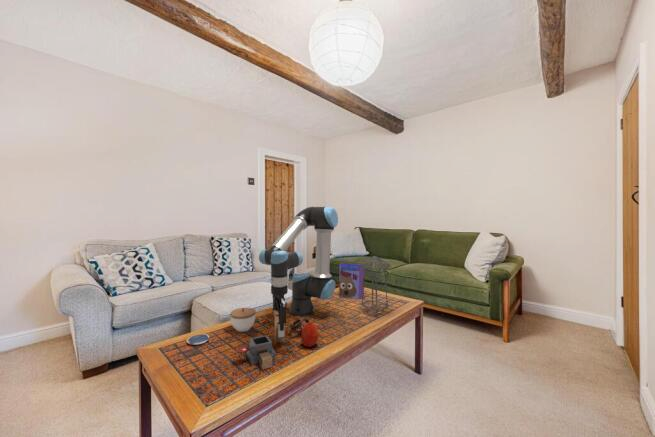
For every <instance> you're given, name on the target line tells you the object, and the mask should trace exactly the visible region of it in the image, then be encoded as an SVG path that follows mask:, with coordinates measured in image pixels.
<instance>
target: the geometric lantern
mask: <svg viewBox="0 0 655 437" xmlns="http://www.w3.org/2000/svg"><path fill="white" fill-rule="evenodd" d="M362 265H364V266H362ZM358 266H359V267H360V268H361V267H363V268H364V270H363V269H362V268H361V269H362V270H363V271H364V276H363V290H362V299H361V306H363V307H364V308H365V309H366V310H365V312H366V313H367V314H370V315H373V316H379V315H383V314H385V309H386V308H387V309H388V307H389V303H388V289H387V276H386V273H385V271H387V270H388V269H389V268H390V267H391V266H392V264H390V263H388V262H387V261H385V260H384V259H382V258H380V257H379V256H376V255H374V256H371V257H369V258H367V259H366V260H363V261H362V262H360V263H359V265H358ZM371 266H372V267H371ZM374 269H375V270H377V273H376V274H374V273H373V272H372V270H374ZM370 272H371V273H370ZM366 273H368V275H366ZM382 273H383V275H384V276H382V275H380V274H382ZM365 275H366V276H365ZM368 276H369V277H370V278H368ZM378 277H381V278H379V279H378ZM365 279H367V280H370V281H371V300H369V301H366V302H364V299H363V293H364V294H365ZM381 280H384V286H385V300H386V303H385V302H382V301H379V300H378V281H381ZM374 287H375V288H374ZM374 292H375V299H374ZM374 302H375V304H374ZM368 303H371V306H367V305H365V304H368ZM378 303H380V304H382V305H385V306H381V307H380V306H378ZM370 311H371V312H370ZM381 311H382V312H381ZM372 312H373V313H372ZM378 312H381V313H378Z"/></svg>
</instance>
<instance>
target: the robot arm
mask: <svg viewBox="0 0 655 437" xmlns="http://www.w3.org/2000/svg"><path fill="white" fill-rule="evenodd" d="M338 223H339V215H338V212H337V210H336V209H335V208H334V207H333V206H331V207H330V206H308V207H305V208H304V209H302V210H300V211H299V212H298V213H297V214H296V215H295V216H294V217H293V218H292V221H291V223H290V224H289V225H288V226H287V227H286V229H285V230H284V231H283V232H282V233H281V235H280V236H279V237H278V238H277V239H276V240H275V241H274V243H273V244H272V245H271V246H270V247H269V248H268V249H263V250H261V251H260V252H259V254H258V260H259V262H260V263H261V264H263V265H266V266H270V275H271V276H270V279H269V281H270V284H271V287H270V293H271V295H272V296H271V297H272V315H273V318H274V319H275V315H274V310H275V309H278V313H279V323H278V337H279V338H280V337H284V338H285V324H287V308H288V312H289V314H290V315H292V316H297V317H304V316H305V317H306V316H310V315H312V314H314V311H315V310H314V309H315V307H314V305H313V304H314V303H313V300H312V298H315V299H320V300H330V299H331V298H332V297H333V295H334V293H335V290H336V281H335V280H334V279H333V278H332V277H333V275H332V274H331V273H330V268H331V265H330V264H331V246H332V245H331V243H332V232H334V230H335V228H336V227H337V226H338ZM308 227H313V228H314V231H315V232H316V240H315V244H316V245H315V261H314V262H315V264H314V265H315V266H314V273H313V274H312V273H309V272H305V273H298V274H295V275H293V276H292V281H291V286H292V287H291V289H292V290H291V292H292V294H291V302H290V304H289V307H287V306H288V302H287V301H286V300H285V299H286V297H285V295H287V294H288V290H289V289H288V282H289V276H288V270H292V269H294V268H298V267H299V266H300V265H301V264H302V263H303V261H304V259H303V258H304V257H303V255H302V253H301V252H300V251H297V250H296V251H287V250H288V249H289V247H290V246H291V245H292V243H293V242H294V241H295V240H296V239H297V238H298V236H299V235H300V234H301V233H302V232H303V231H304V230H306V229H307V228H308Z"/></svg>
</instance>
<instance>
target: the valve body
mask: <svg viewBox="0 0 655 437" xmlns="http://www.w3.org/2000/svg"><path fill="white" fill-rule="evenodd" d="M236 353H238V354H245V353H246V357H247V359H248V361H249V362H250V365H251V366H255V365H258V364H259V366H260V368H261V370H262V371H264V370H266V369H271V368H273V361H275V360H276V359H277V357H276V355H277V353H276V350H275V349H274V347H273V341H272V340H271V338H270V336H268V334H265V335H262V336H261V335H259V336H256V337H251V338H249V345H247V344H243V345H239V346H237V347H236Z"/></svg>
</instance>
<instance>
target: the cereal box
mask: <svg viewBox="0 0 655 437" xmlns="http://www.w3.org/2000/svg"><path fill="white" fill-rule="evenodd" d="M359 264H360V263H359ZM359 264H358V263H356V264H355V263H339V278H338V279H339V286H338V287H339V288H338V297H339V298H340V299H354V300H362V290H363V276H364V271H363V270H364V269H365V268H363V267H361V268H362V269H363V270H362V269H361V268H360V267H359V266H358V265H359ZM362 266H365V265H362ZM364 297H365V292H364V293H363V300H364Z"/></svg>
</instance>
